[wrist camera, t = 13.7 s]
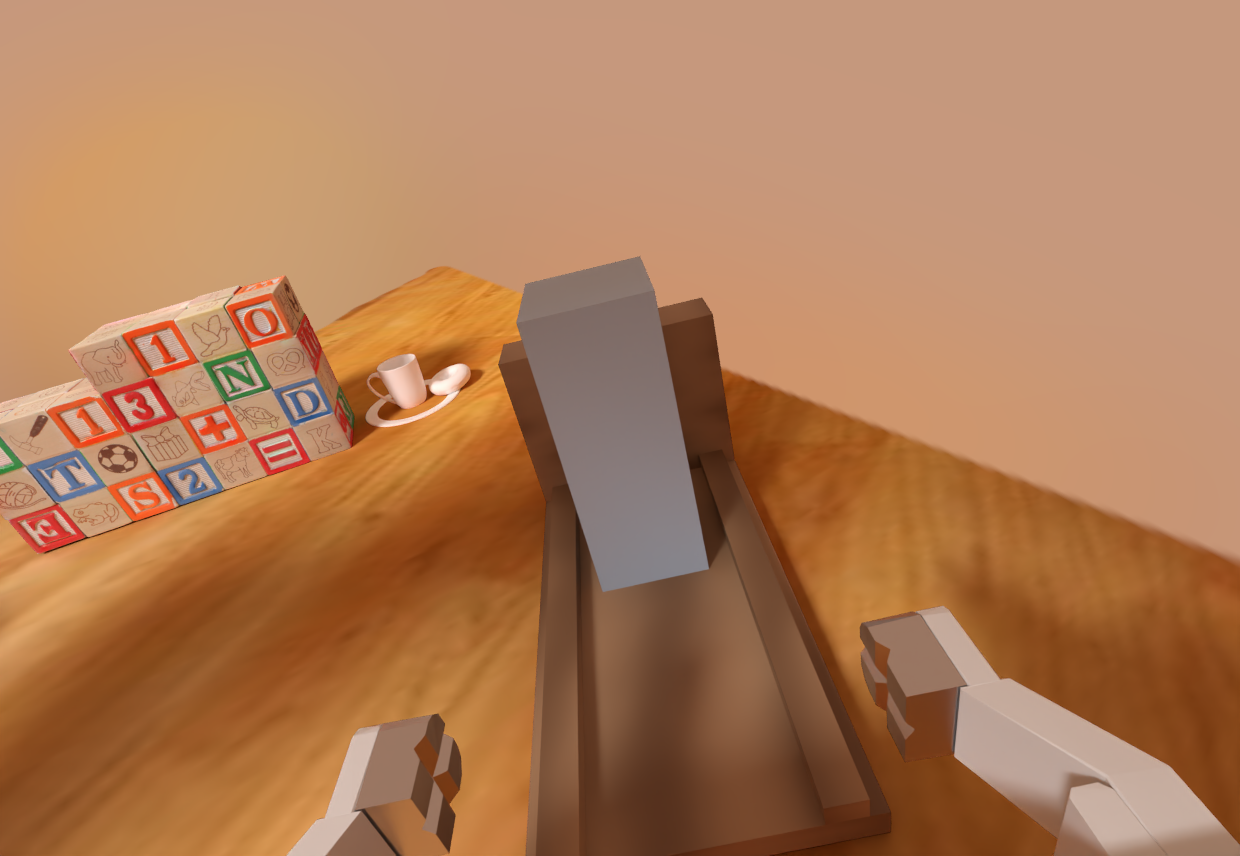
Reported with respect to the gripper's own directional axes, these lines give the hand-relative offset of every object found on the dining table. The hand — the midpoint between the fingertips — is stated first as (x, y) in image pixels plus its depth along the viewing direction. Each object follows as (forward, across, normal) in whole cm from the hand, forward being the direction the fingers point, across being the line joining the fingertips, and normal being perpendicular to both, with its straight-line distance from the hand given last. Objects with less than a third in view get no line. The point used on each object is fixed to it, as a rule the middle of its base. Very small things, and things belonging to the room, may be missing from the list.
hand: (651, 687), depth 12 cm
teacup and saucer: (+36, +15, +10) cm, 41 cm away
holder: (+11, 0, +9) cm, 14 cm away
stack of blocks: (+32, +32, +9) cm, 46 cm away
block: (+13, 0, +8) cm, 15 cm away
